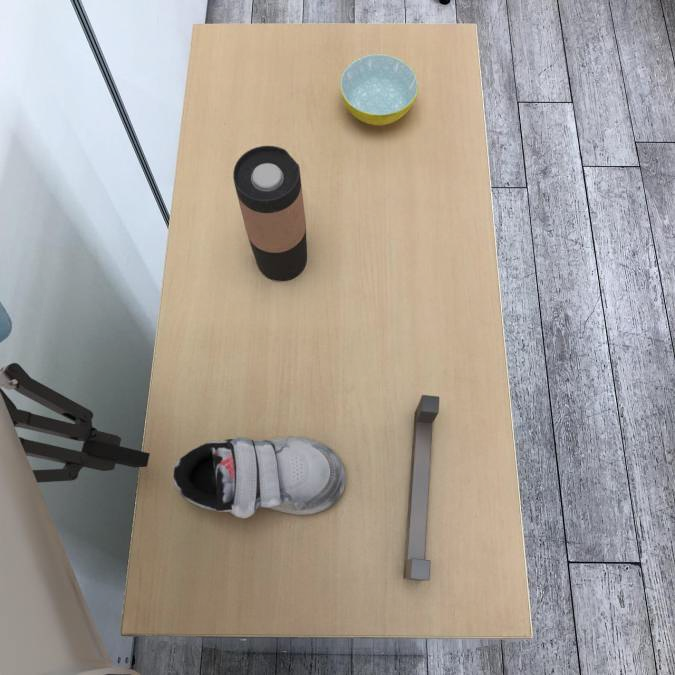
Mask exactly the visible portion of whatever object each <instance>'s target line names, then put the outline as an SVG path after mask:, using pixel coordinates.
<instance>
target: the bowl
mask: <svg viewBox="0 0 675 675" xmlns="http://www.w3.org/2000/svg"><path fill="white" fill-rule="evenodd" d="M339 90H340V95H341V98H342V102H343V104H344V105H345V108H346V109H347V111H348V112H349V114H351V115H352V116H353V117H354V118H356V119H357V120H359V121H360V122H363V123H365V124H368V125H372V126H384V125H389V124H392V123H394V122H396V121H398V120H400V119H401V118H403V117H404V116H405V115H406V114H407V113H408V112H409V110H411V108H412V107H413V105H414V103H415V101H416V98H417V96H418V92H419V80H418V76H417V74H416V72H415V71H414V69H413V68H412V67H411V65H409V64H408V63H407V62H405V61H404V60H402V59H400V58H398V57H396V56H393V55H390V54H385V53H371V54H366V55H364V56H361V57H358V58H356V59H355V60H352V62H350V63H349V64H348V65H347V66H346V67H345V69H344V70H343V72H342V74H341V76H340V80H339Z"/></svg>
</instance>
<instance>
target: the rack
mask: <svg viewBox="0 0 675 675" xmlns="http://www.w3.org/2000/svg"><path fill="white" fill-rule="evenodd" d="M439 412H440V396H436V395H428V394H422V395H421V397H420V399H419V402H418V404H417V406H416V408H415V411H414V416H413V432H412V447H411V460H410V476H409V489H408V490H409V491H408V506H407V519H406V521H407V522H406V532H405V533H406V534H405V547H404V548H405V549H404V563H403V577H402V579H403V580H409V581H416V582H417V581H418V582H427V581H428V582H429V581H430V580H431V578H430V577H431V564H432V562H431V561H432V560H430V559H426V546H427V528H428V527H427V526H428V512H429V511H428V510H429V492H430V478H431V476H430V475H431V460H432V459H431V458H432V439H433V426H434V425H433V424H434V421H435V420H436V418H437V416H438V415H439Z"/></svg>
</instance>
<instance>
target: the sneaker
mask: <svg viewBox="0 0 675 675" xmlns="http://www.w3.org/2000/svg"><path fill="white" fill-rule="evenodd" d="M172 476H173V478H172V480H173V482H172V483H173V485H174V486H175V488H176V490H177V491H178V492H179V493H180V495H181V496H182V497H183V499H185V500H186V501H188V503H190V504H193V505H195V506H197V507H198V508H201V509H202V508H203V509H206V510H208V511H214V512H219V513H225V512H227V513H231V514H232V515H233V516H234V517H236V518H239V519H249V518H250V517H252V516H253V515H255V514H256V512H257V509H258V508H263V509H265V508H266V509H270V510H274V511H278V512H283V513H286V514H290V515H298V516H299V515H300V516H301V515H302V516H307V515H313V514H317V513H320V512H322V511H326V510H328V509H329V508H332V507H333V506H334V505H335V504H336V503H337V502H338V501H339V499H340V498H341V497H342V495H343V493H344V490H345V488H346V472H345V467H344V464H343V463H342V460H341V459H340V456H339V455H338V453H336V452H334V450H332V449H331V448H330V447H329V446H327V445H326V444H324V443H322V442H320V441H317V440H314V439H311V438H307V437H303V436H292V435H291V436H283V437H271V438H267V439H259V440H253V439H249V438H247V437H236V438H227V439H221V440H211V441H208V442H204V443H203V444H200V445H199V446H197V447H194V448H192V449H191V450H189V451H188V452H187V453H185V454H184V455H183V456H182V457H180V458H179V459H178V460H177V462H176V463H175V464H174V468H173V475H172Z"/></svg>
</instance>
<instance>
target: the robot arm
mask: <svg viewBox="0 0 675 675" xmlns="http://www.w3.org/2000/svg"><path fill="white" fill-rule="evenodd" d="M12 330H13V322H12V319H11V317H10V314H9V313H8V311H7V310H6V308H5V306H4V305H3V304H2V302H1V301H0V344H1V343H2V342H4V341H5V340H6V339H7V338H9V336H10V334H11V333H12ZM2 388H4V389H5V390H6V391H11V390H12V391H13V390H15V392H17V393H19V394H21V395H22V396H24V397H27V399H30V400H31V401H34V402H36V403H37V404H39V405H41V406H43V407H45V408H47V409H49V410H50V411H52V412H55V413H57V414H58V415H60V416H62V417H64V418H65V419H68V420H69V421H71V422H68V421H64V420H59V419H56V418H52V417H47V416H44V415H39V414H35V413H32V412H31V411H27V410H23V409H20V408H17V406H16V404H15V403H14V402H13V400H12V399H11V398H9V396H8V395H7V393H5V391H4V390H3V389H2ZM93 418H94V413H93V411H92V410H90V409H88V408H87V407H85V406H83V405H81V404H80V403H78V402H76V401H74V400H72V399H70V398H68V397H67V396H65V395H63V394H61V393H59V392H57V391H56V390H55V389H52V388H50V387H48V386H46V385H45V384H43V383H41V382H40V381H37V379H36V380H35V379H34V378H32V377H31V376H30V375H29V374H28V373H27V371H25V369H24V368H23V367H22V366H21V365H20V364H18V363H17V362H12V363H10V364H7V365H5V366H3V367H1V368H0V675H142V674H141V673H140V672H138V671H136V670H134V669H131V668H127V667H122V666H115V665H113V664H112V661H111V658H110V656H109V654H108V651H107V649H106V647H105V644H104V642H103V639H102V637H101V635H100V632H99V630H98V627H97V625H96V623H95V620H94V618H93V614H92V612H91V610H90V607H89V605H88V603H87V600H86V598H85V595H84V592H83V590H82V587H81V586H80V582H79V580H78V579H77V576H76V574H75V571H74V568H73V566H72V564H71V562H70V558H69V557H68V554H67V552H66V549H65V547H64V544H63V542H62V539H61V537H60V535H59V532H58V529H57V527H56V524H55V522H54V520H53V517H52V515H51V512H50V510H49V507H48V505H47V503H46V500H45V498H44V496H43V493H42V490H41V488H40V486H39V483H54V482H70V481H71V482H72V481H75V480H76V479H78V477H79V473H80V471H81V470H82V469H83V468H87V469H92V470H97V471H101V472H107V471H108V472H109V471H113V470H115V467H116V464H117V465H122V466H124V467H125V466H126V467H131V468H136V469H137V468H146V467H148V465H149V464H148V463H149V459H150V452H146V451H141V450H138V449H134V448H130V447H129V448H128V447H124V446H121V441H122V438H121V437H120V436H119V435H117V434H112V433H108V432H104V431H101V430H98V428H96V427H94V426H93V422H92V420H93ZM72 422H73V423H72ZM16 428H20V429H24V430H29V431H33V432H38V433H42V434H47V435H51V436H56V437H60V438H65V439H68V440H73V441H76V442H83V444H82V446H81V451H80V450H77V449H76V450H75V449H70V448H66V447H62V446H58V445H53V444H48V443H44V442H40V441H35V440H30V439H27V438H24V437H21V436H19V434H18V432H17V429H16ZM28 457H31V458H37V459H40V460H45V461H50V462H56V463H60V464H64V465H63V467H62V468H51V469H32V466H31V464H30V461H29V459H28Z"/></svg>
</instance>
